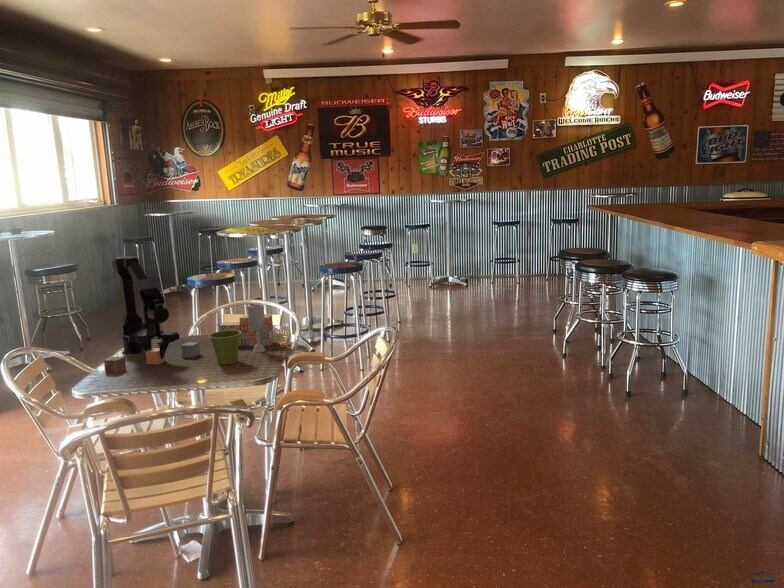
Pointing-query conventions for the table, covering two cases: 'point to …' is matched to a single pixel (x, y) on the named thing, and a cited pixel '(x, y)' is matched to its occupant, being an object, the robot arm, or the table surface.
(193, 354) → the slate cube
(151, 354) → the terracotta cube
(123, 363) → the walnut cube
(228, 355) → the plant pot
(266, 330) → the stack of blocks
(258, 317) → the chalice
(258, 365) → the table surface
